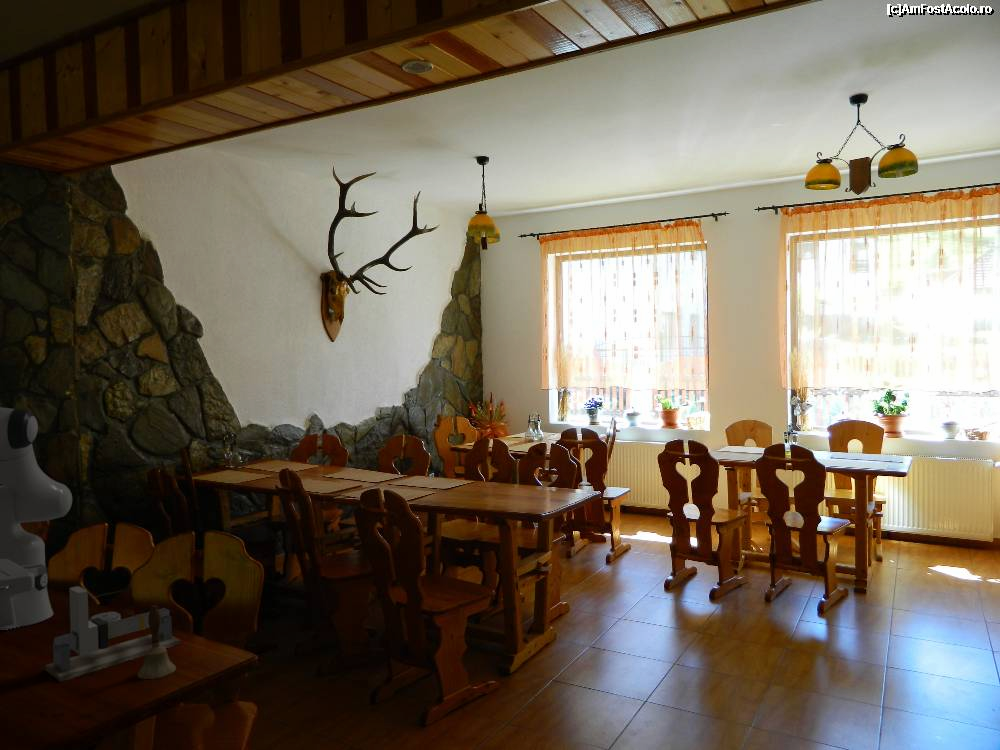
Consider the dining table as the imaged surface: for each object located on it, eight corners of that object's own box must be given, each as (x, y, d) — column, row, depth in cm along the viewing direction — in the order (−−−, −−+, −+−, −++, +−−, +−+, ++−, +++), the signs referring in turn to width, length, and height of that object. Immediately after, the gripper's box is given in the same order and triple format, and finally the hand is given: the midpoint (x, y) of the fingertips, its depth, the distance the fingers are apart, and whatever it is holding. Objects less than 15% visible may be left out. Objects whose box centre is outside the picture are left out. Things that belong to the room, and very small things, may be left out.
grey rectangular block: (80, 655, 173) (78, 593, 172) (71, 649, 177) (69, 588, 176) (98, 650, 176) (96, 589, 175) (89, 644, 180) (87, 584, 179)
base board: (60, 681, 168) (60, 676, 168) (45, 670, 174) (45, 665, 174) (180, 644, 189) (180, 640, 189) (163, 635, 195) (163, 630, 195)
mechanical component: (111, 639, 193) (133, 625, 203) (110, 623, 193) (133, 609, 203) (76, 638, 194) (100, 624, 204) (75, 622, 194) (99, 609, 204)
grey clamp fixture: (61, 672, 170) (60, 641, 170) (53, 666, 173) (52, 635, 173) (171, 638, 190) (171, 610, 189) (163, 634, 193) (162, 606, 193)
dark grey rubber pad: (101, 649, 176) (100, 625, 176) (92, 643, 180) (91, 619, 180) (108, 647, 177) (107, 623, 177) (99, 641, 181) (98, 617, 181)
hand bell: (146, 683, 167) (144, 614, 166) (131, 673, 172) (129, 606, 171) (182, 670, 173) (180, 604, 172) (166, 661, 178) (164, 597, 178)
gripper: (-15, 577, 152) (59, 562, 162) (-40, 560, 166) (29, 548, 176) (-14, 607, 152) (60, 590, 163) (-39, 588, 166) (30, 573, 176)
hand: (44, 568), depth 169 cm, fingers closed
